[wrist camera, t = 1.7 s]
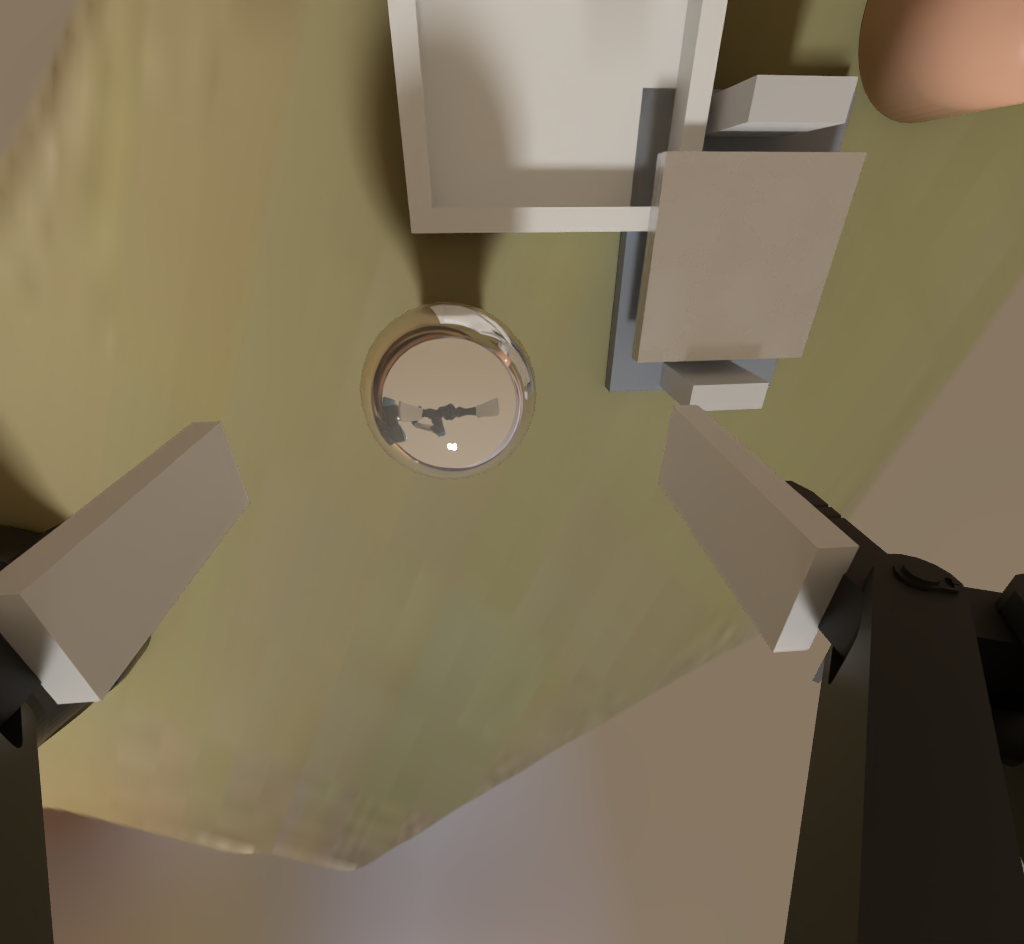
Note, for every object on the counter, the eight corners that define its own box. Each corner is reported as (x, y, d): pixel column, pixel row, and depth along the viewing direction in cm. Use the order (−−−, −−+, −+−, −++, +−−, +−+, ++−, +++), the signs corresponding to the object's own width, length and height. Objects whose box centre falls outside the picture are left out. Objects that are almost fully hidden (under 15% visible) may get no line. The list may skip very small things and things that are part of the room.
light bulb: (464, 245, 23) (465, 274, 13) (538, 353, 26) (587, 447, 16) (363, 327, 25) (292, 412, 14) (445, 420, 28) (435, 545, 18)
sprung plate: (631, 357, 24) (637, 362, 24) (657, 153, 20) (666, 151, 19) (789, 352, 25) (801, 357, 24) (850, 154, 21) (867, 152, 20)
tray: (416, 231, 23) (411, 233, 20) (375, -183, 16) (362, -244, 14) (668, 228, 24) (688, 230, 22) (726, -162, 17) (764, -215, 15)
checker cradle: (605, 386, 28) (631, 419, 23) (635, 92, 21) (680, 62, 16) (760, 380, 29) (813, 411, 24) (840, 96, 21) (935, 67, 17)
